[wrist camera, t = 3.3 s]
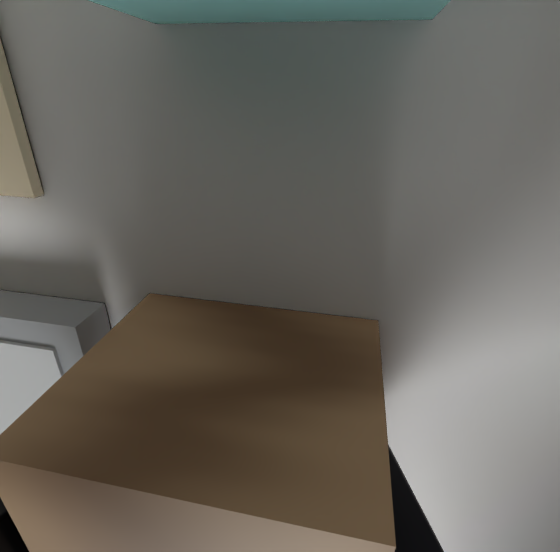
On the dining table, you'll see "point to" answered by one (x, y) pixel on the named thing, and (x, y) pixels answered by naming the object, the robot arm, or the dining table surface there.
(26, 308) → the build plate
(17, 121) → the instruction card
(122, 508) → the walnut brick
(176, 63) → the dining table surface
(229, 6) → the teal brick
